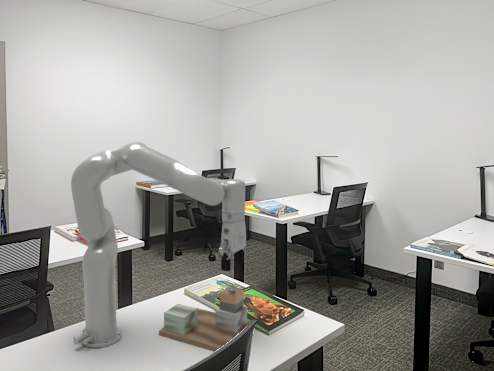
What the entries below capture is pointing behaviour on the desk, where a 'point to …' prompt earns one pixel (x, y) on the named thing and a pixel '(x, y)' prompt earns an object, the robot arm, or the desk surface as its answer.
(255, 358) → the desk surface
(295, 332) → the desk surface
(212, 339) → the stand board
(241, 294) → the housing
